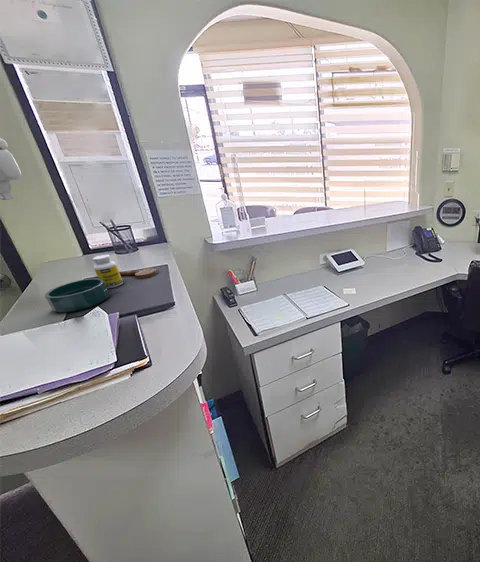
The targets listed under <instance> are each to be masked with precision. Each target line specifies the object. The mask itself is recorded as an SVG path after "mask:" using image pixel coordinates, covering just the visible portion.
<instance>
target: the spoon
mask: <svg viewBox="0 0 480 562" xmlns="http://www.w3.org/2000/svg"><path fill="white" fill-rule="evenodd" d="M119 273H120V275H121V277H122V276H127V277H128V276H134V277H135V278H136V279H147V278H151V277H153V276H155V275H156V274H157V273H158V272H157V269H156V268H151V267H150V268H145V269H141V270H119Z"/></svg>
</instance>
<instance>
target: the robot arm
mask: <svg viewBox="0 0 480 562" xmlns="http://www.w3.org/2000/svg"><path fill="white" fill-rule="evenodd" d="M7 148H8V143H7V142H6V140H5V139H3V138H1V137H0V200H2V201H8V200H14V196H13V194H12V183H11V182H10V181H19V180H21V179H22V172H21V169H20V167H19V165H18V163H17V160H16V159H15V158H14V156H13V154H12V153H11V152H10V151H9V150H8V149H7Z"/></svg>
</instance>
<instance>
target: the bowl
mask: <svg viewBox="0 0 480 562" xmlns="http://www.w3.org/2000/svg"><path fill="white" fill-rule="evenodd" d="M109 297H110V292H109V288H107V287H106V285H105V282H104V280H103V279H99V278H98V277H96V278H95V277H94V278H93V277H91V278H84V279H79V280H75V281H71V282H67V283H64V284H61V285H58V286H56V287H54V288H51V289H50V290H48V291H47V292H45V294H44V298H45V299H46V301H47V303H48V305H49V307H50V308H51V310H52V311H54V312H55V313H74V312H78V311H83V310H85V309H86V310H87V309H89V308H92V307H94V306H97V305H99V304H101V303H103V302H104V301H105V300H107V299H108V298H109Z"/></svg>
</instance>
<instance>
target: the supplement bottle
mask: <svg viewBox="0 0 480 562" xmlns="http://www.w3.org/2000/svg"><path fill="white" fill-rule="evenodd" d="M92 260H93V262H94V265H93V270H94V271H95V274H96V276H97V278H99V279H103V280H104V282H105V285H106V287H107V289H113V288H117V287H119V286H121V285H123V284H124V281H123V278H122V276H121V275H120V273H119V271H120V270H119V268H118V265H117V264H116V262H115V261H112V258H111V256H110V255H109V254H101V255H97V256H95V257H93V258H92Z"/></svg>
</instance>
